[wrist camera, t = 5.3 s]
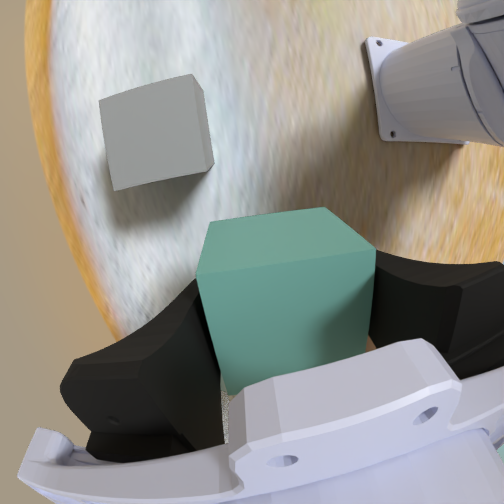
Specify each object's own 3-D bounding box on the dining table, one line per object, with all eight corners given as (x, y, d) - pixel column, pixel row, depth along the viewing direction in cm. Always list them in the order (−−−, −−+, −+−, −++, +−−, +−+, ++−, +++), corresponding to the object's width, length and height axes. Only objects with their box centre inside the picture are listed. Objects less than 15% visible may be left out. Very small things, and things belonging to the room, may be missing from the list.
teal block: (324, 206, 12) (376, 248, 7) (326, 303, 14) (361, 372, 9) (210, 221, 12) (195, 274, 7) (228, 318, 14) (227, 395, 9)
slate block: (203, 90, 16) (191, 73, 11) (214, 163, 18) (207, 171, 13) (131, 108, 16) (98, 100, 11) (142, 177, 18) (113, 191, 13)
